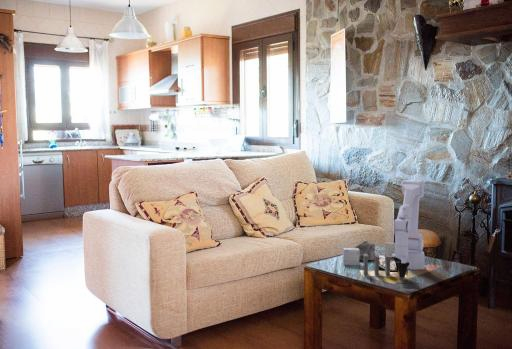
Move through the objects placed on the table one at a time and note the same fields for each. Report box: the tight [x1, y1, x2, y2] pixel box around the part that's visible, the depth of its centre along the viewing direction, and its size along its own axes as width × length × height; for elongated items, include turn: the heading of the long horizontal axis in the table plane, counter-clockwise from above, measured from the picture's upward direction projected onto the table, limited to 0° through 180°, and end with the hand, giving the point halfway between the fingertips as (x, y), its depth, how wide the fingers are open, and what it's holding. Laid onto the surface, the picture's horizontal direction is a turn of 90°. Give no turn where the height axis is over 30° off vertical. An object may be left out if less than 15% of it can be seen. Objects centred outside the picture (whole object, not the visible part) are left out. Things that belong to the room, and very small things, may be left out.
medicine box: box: [342, 247, 360, 266], centre depth 263 cm, size 8×4×9 cm, turn 84°
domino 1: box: [373, 253, 380, 277], centre depth 245 cm, size 2×5×9 cm, turn 174°
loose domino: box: [397, 260, 404, 282], centre depth 237 cm, size 2×5×9 cm, turn 174°
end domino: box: [362, 254, 369, 275], centre depth 245 cm, size 2×5×9 cm, turn 174°
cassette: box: [384, 242, 395, 256], centre depth 279 cm, size 12×2×8 cm, turn 63°
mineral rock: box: [354, 240, 376, 261], centre depth 275 cm, size 13×11×10 cm
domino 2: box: [384, 253, 391, 277], centre depth 244 cm, size 2×5×9 cm, turn 174°
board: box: [359, 269, 408, 278], centre depth 246 cm, size 20×9×1 cm, turn 84°
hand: (400, 274), depth 238 cm, fingers open, 7 cm apart
